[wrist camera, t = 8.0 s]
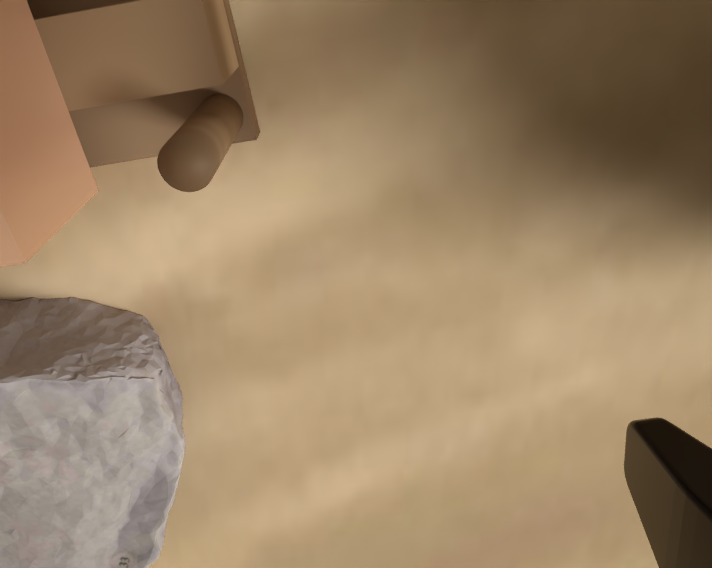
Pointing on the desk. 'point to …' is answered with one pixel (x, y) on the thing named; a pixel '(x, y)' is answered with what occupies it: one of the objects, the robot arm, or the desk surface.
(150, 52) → the rack
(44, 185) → the clay bar
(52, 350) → the stone block
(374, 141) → the desk surface
